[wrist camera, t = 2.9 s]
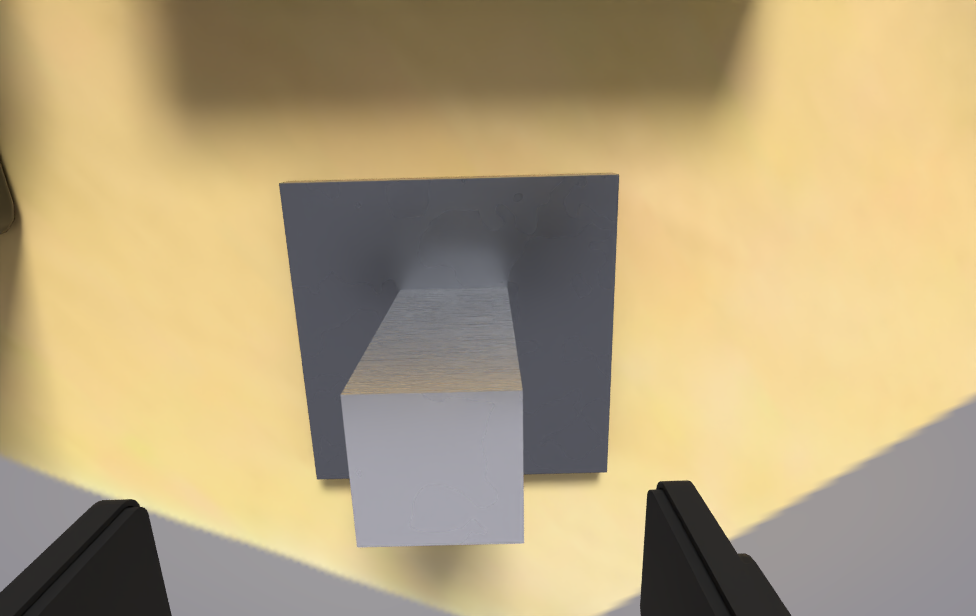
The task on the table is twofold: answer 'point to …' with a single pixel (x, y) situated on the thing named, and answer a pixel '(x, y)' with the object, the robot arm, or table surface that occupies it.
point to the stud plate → (457, 265)
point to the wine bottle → (5, 204)
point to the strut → (438, 423)
